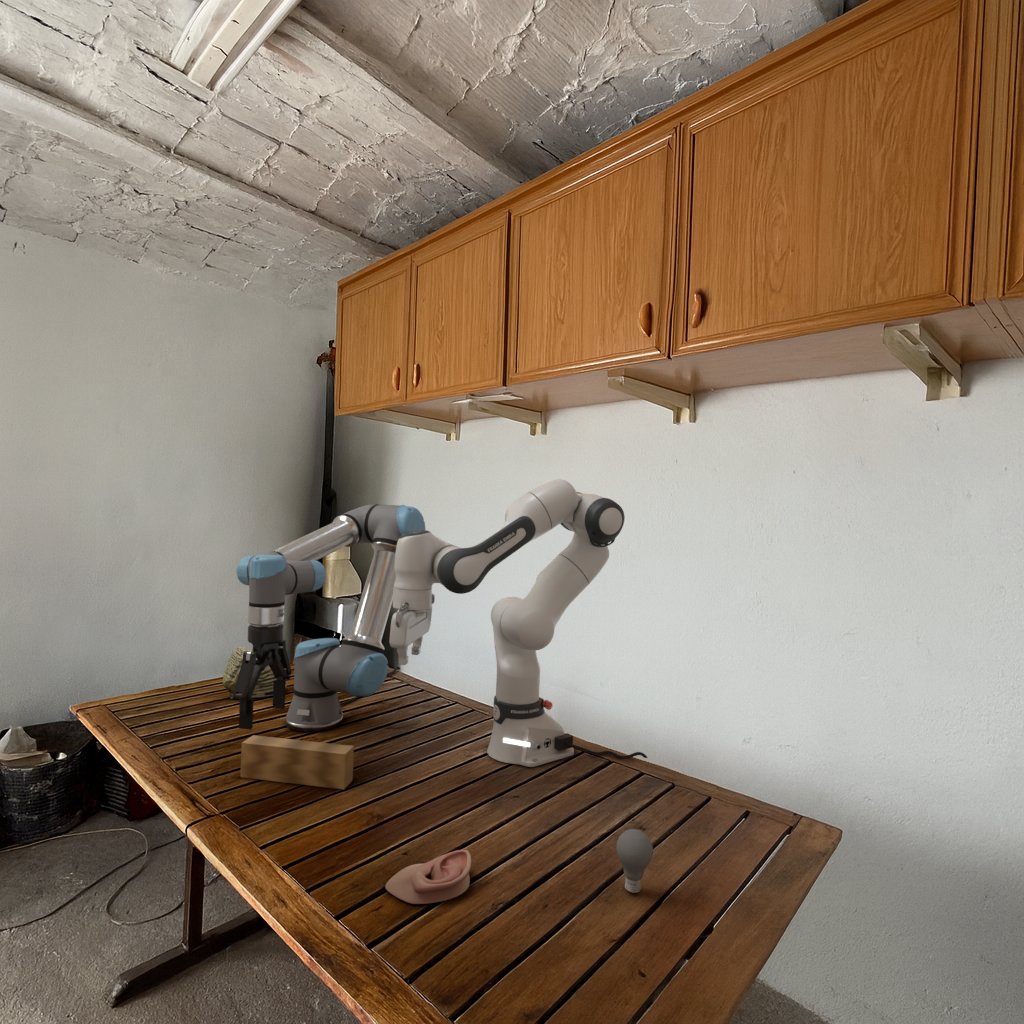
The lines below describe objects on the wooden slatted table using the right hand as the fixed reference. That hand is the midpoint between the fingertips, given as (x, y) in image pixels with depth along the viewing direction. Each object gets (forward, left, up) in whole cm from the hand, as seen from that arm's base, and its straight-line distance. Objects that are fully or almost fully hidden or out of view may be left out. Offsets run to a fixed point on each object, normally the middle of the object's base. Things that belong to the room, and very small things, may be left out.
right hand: (409, 659), depth 148 cm
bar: (+24, -5, -26) cm, 36 cm away
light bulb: (-21, +58, -26) cm, 67 cm away
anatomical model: (+10, +43, -26) cm, 52 cm away
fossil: (+26, -70, -26) cm, 79 cm away
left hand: (+30, -10, -13) cm, 35 cm away
